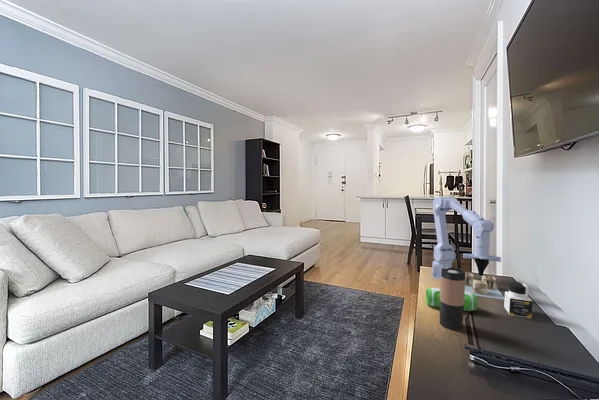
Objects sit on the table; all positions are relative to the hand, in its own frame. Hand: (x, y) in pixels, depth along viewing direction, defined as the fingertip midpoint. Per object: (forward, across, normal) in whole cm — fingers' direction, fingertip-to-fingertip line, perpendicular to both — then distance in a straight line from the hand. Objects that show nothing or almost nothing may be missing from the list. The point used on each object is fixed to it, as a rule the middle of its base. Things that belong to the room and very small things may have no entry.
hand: (480, 275), depth 131 cm
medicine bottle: (+9, +10, -17) cm, 22 cm away
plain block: (+8, 0, 0) cm, 8 cm away
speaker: (+9, -14, -23) cm, 28 cm away
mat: (+9, +1, +5) cm, 10 cm away
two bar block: (+8, +5, +9) cm, 13 cm away
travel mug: (+9, -15, -39) cm, 43 cm away
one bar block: (+8, -4, +10) cm, 13 cm away
